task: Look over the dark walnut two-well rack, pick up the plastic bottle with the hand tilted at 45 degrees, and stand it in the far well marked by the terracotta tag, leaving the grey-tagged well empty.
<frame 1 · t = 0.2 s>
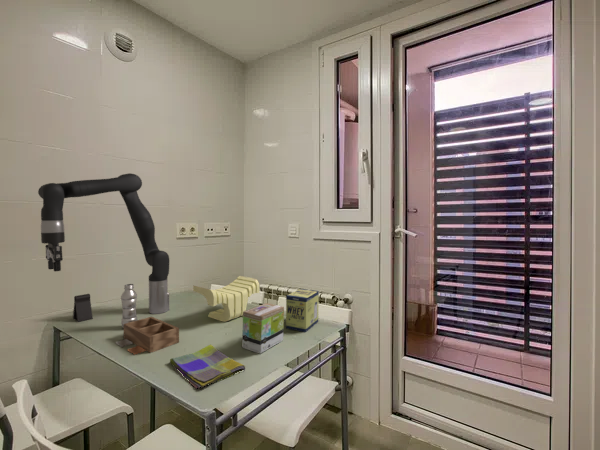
hand: (54, 270, 124), 29 cm above the table, tool pointing down, fingers open, 8 cm apart
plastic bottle: (129, 327, 138), on the table
slatted curved stool: (228, 316, 154), on the table
well rack: (150, 340, 124), on the table
dish towel: (207, 368, 103), on the table
protein box: (302, 325, 142), on the table
tea box: (263, 344, 121), on the table
phone stand: (82, 319, 149), on the table
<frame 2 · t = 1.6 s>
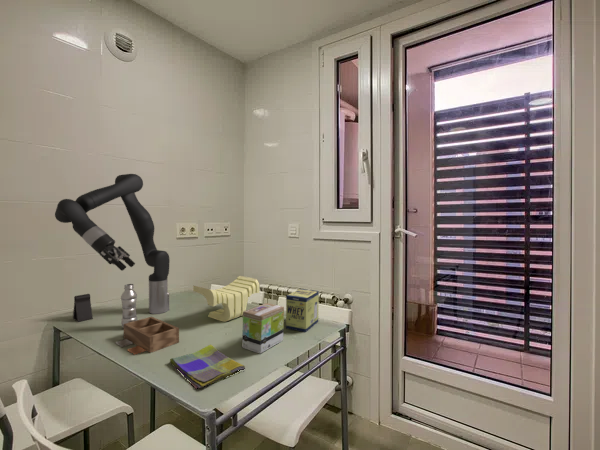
hand: (129, 267, 123), 31 cm above the table, tool tilted 45°, fingers open, 8 cm apart
nothing on the table moved.
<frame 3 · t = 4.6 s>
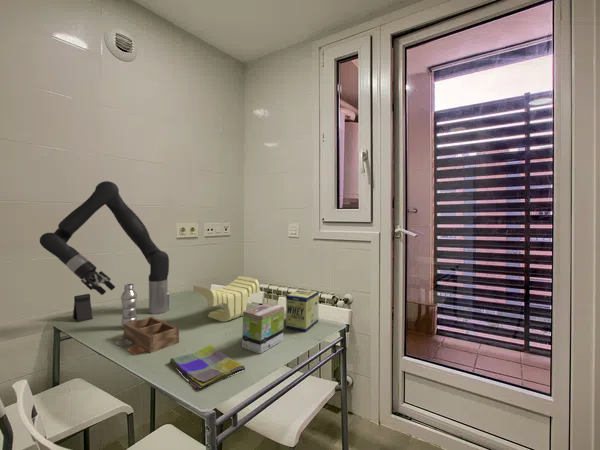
hand: (109, 290, 136), 17 cm above the table, tool tilted 45°, fingers open, 8 cm apart
nothing on the table moved.
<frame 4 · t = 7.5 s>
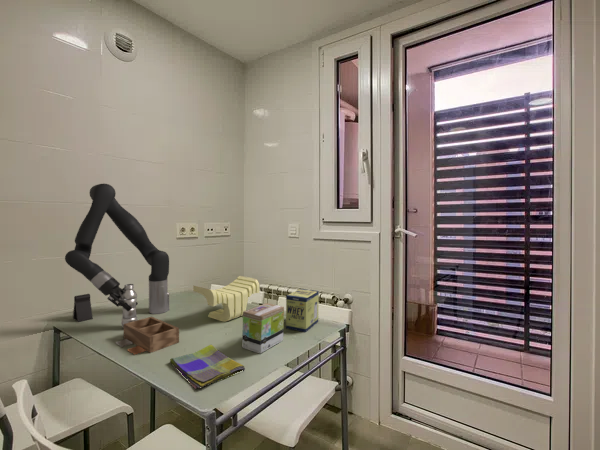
hand: (133, 307, 138), 9 cm above the table, tool tilted 45°, fingers closed on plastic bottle, 6 cm apart
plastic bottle: (129, 327, 138), on the table, touching gripper
everything else where it was.
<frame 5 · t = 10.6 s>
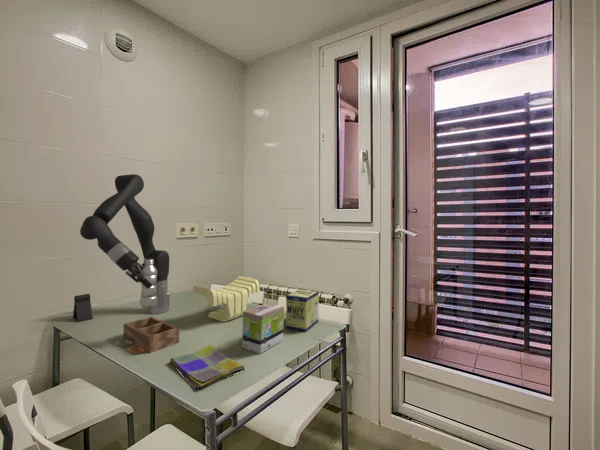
hand: (153, 284, 123), 23 cm above the table, tool tilted 45°, fingers closed on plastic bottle, 6 cm apart
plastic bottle: (148, 307, 123), point 14 cm above the table, touching gripper
everything else where it was.
when the fingers open (12 cm above the table, at t = 13.8 s): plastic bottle drops 1 cm, resting on well rack.
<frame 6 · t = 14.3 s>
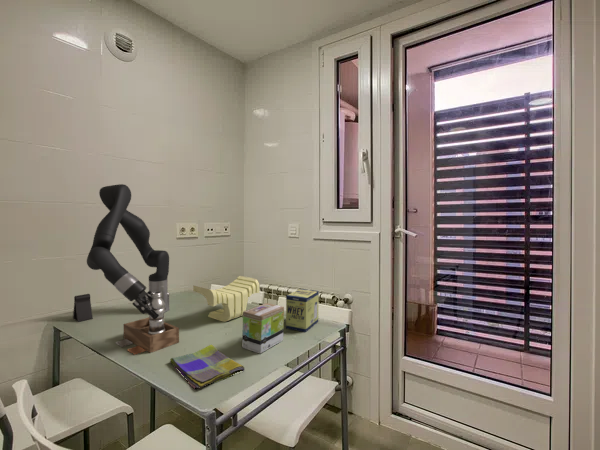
hand: (160, 313, 121), 12 cm above the table, tool tilted 45°, fingers open, 8 cm apart
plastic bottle: (156, 341, 121), point 1 cm above the table, touching well rack
everything else where it was.
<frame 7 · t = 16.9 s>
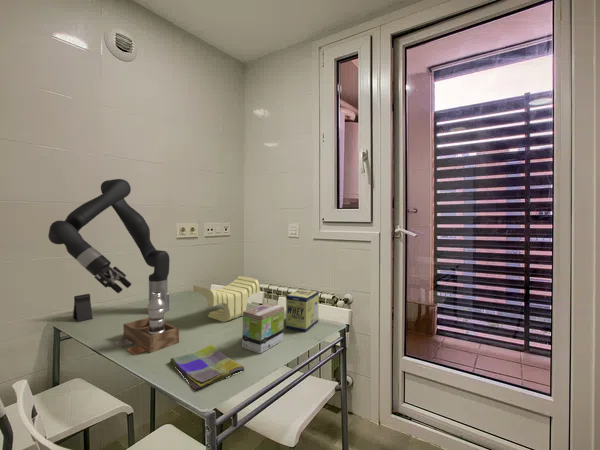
hand: (125, 288, 120), 22 cm above the table, tool tilted 45°, fingers open, 8 cm apart
nothing on the table moved.
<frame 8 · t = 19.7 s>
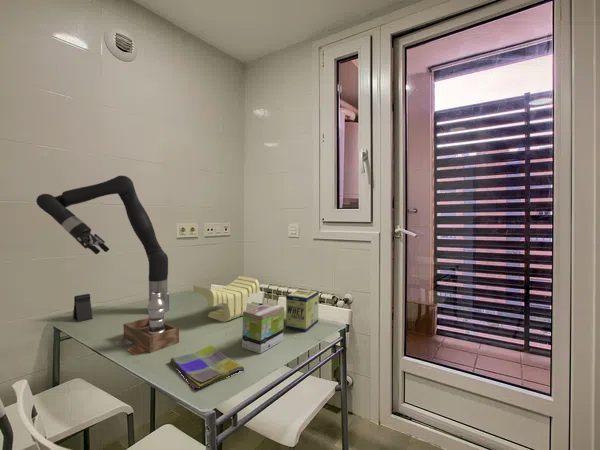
hand: (103, 251, 142), 35 cm above the table, tool tilted 45°, fingers open, 8 cm apart
nothing on the table moved.
at the end: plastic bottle 0.2 cm from the target spot on the well rack, point 0.8 cm above the well rack's base; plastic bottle tilted 0°; the gripper is holding nothing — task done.
